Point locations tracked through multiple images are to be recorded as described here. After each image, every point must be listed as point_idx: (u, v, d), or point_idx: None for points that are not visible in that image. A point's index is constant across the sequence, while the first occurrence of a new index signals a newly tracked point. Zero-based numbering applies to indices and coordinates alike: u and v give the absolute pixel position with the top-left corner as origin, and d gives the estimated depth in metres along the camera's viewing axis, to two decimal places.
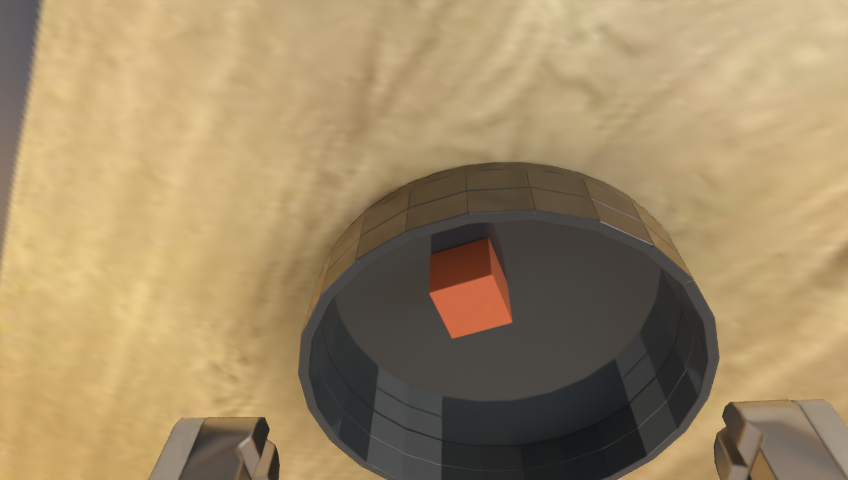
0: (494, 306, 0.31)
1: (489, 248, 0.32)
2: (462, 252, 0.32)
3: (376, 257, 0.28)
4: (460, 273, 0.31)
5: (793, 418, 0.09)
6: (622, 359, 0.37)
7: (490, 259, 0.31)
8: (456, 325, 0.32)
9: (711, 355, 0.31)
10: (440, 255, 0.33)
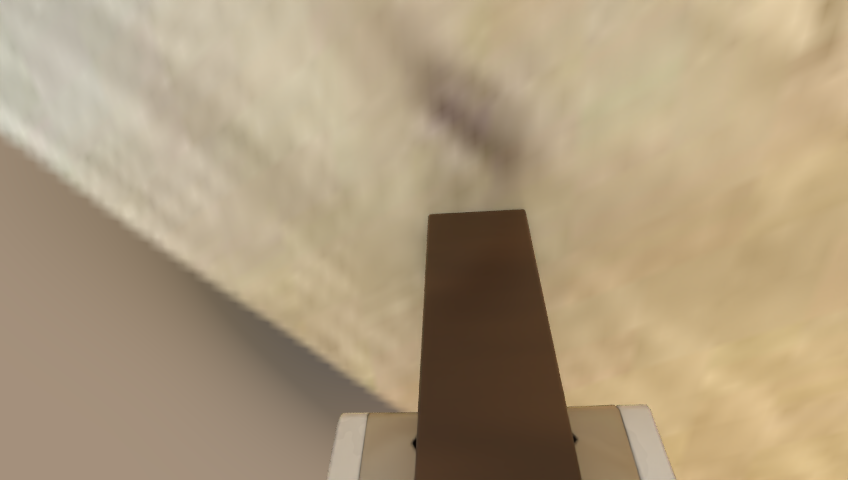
0: None
1: None
2: None
3: None
4: None
5: (609, 423, 0.09)
6: None
7: None
8: None
9: None
10: None
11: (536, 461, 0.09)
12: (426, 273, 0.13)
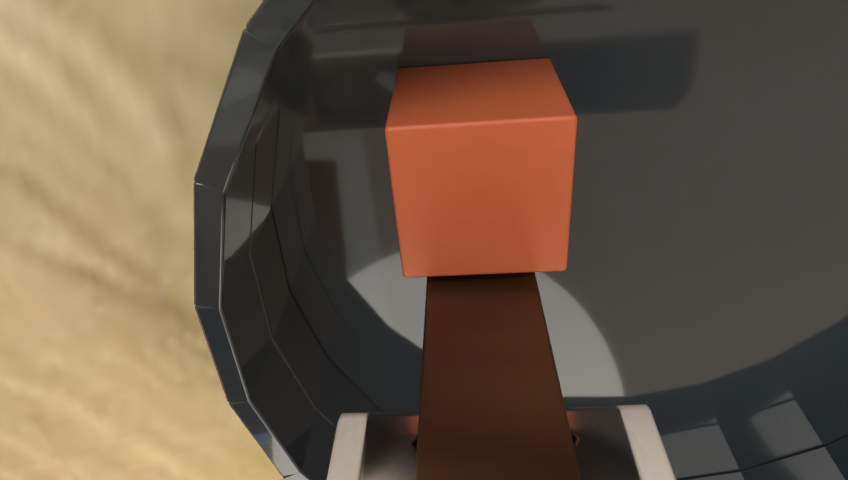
0: (498, 148, 0.11)
1: (396, 84, 0.13)
2: None
3: (281, 453, 0.15)
4: None
5: (610, 423, 0.09)
6: None
7: (391, 102, 0.12)
8: (525, 252, 0.12)
9: None
10: None
11: (536, 467, 0.09)
12: (427, 287, 0.13)
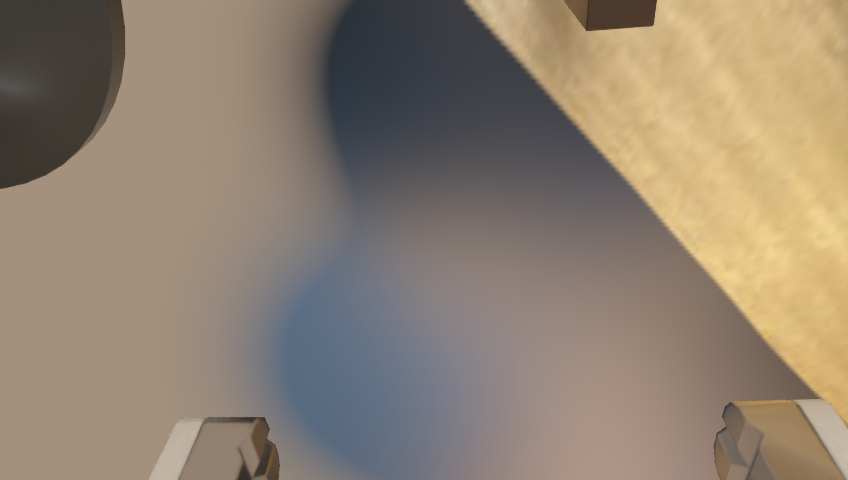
0: None
1: None
2: None
3: None
4: None
5: (793, 418, 0.09)
6: None
7: None
8: None
9: None
10: None
11: None
12: None
